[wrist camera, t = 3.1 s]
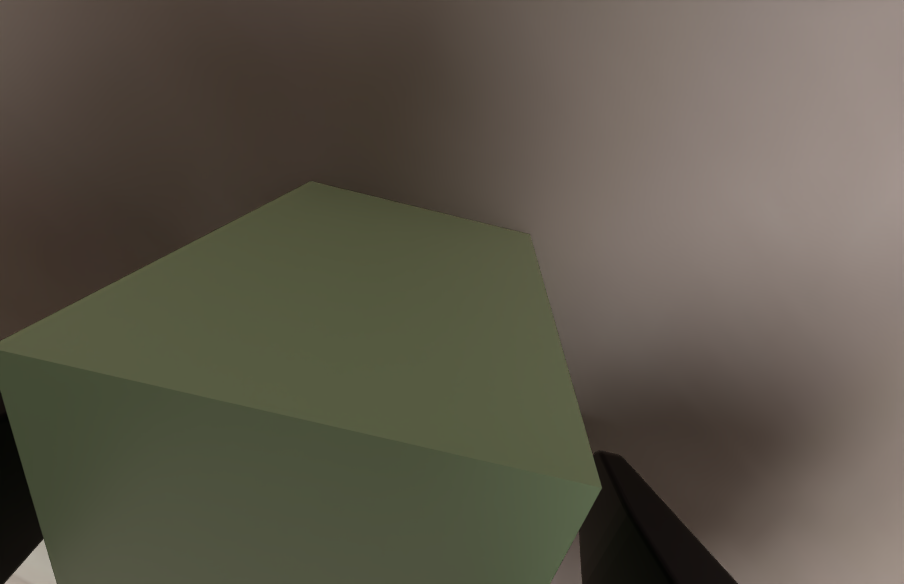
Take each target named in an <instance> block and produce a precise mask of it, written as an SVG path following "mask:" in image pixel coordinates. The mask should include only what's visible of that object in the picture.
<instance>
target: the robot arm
mask: <svg viewBox="0 0 904 584" xmlns="http://www.w3.org/2000/svg"><path fill="white" fill-rule="evenodd" d="M593 458H594V462H595V465H596V469H597V472H598V476H599V479H600V483H601V486H602V489H601V491H600V492H599V494H598V496H597V498H596V500H595V502H594V504H593V505H592V507H591V509H590V511H589V513H588V515H587V516H586V518H585V520H584V522H583V524H582V526H581V527H580V529H579V539H580V557H581V574H582V584H738V583H737V582H736V581H735V580H734V579H733V578H732V577H731V575H730V574H729V573H728V572H727V571H726V570H725V569H724V568H723V567H722V566H721V565H720V563H719V562H718V561H717V560H716V559H715V558H714V557H713V556H712V555H711V554H710V552H709V551H708V550H707V549H706V548H705V547H704V546H703V545H702V544H701V543H700V541H699V540H698V539H697V538H696V537H695V536H694V535H693V534H692V533H691V532H690V530H689V529H688V528H687V527H686V526H685V525H684V524H683V523H682V522H681V521H680V520H679V518H678V517H677V516H676V515H675V514H674V513H673V512H672V511H671V510H670V509H669V507H668V506H667V505H666V504H665V503H664V502H663V501H662V500H661V499H660V498H659V496H658V495H657V494H656V493H655V492H654V491H653V490H652V489H651V488H650V487H649V485H648V484H647V483H646V482H645V481H644V480H643V479H642V478H641V477H640V476H639V475H638V473H637V472H636V471H635V470H634V469H633V468H632V467H631V466H630V465H629V464H628V462H627V461H626V460H625V459H624V458H623V457H622V456H620V455H618V454H614V453H609V452H605V451H597V452H595V453H594V454H593ZM43 539H44V538H43V535H42V531H41V528H40V524H39V521H38V517H37V514H36V511H35V507H34V504H33V500H32V497H31V494H30V490H29V487H28V483H27V480H26V476H25V473H24V470H23V466H22V463H21V459H20V456H19V453H18V449H17V446H16V442H15V439H14V435H13V432H12V429H11V425H10V422H9V418H8V415H7V412H6V408H5V405H4V401H3V398H2V394H1V391H0V584H4V583H5V582H6V581H7V580H8V579H9V578H10V576H11V575H12V574H13V573H14V572H15V571H16V570H17V569H18V567H19V566H20V565H21V564H22V563H23V562H24V561H25V559H26V558H27V557H28V556H29V555H30V554H31V553H32V551H33V550H34V549H35V548H36V547H37V546H38V545H39V543H40V542H41V541H42V540H43Z"/></svg>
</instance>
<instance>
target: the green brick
mask: <svg viewBox="0 0 904 584" xmlns="http://www.w3.org/2000/svg"><path fill="white" fill-rule="evenodd" d="M0 391H1V394H2V398H3V401H4V405H5V408H6V412H7V415H8V418H9V422H10V425H11V429H12V432H13V435H14V439H15V442H16V446H17V449H18V453H19V456H20V459H21V463H22V466H23V470H24V473H25V476H26V480H27V483H28V487H29V490H30V494H31V497H32V500H33V504H34V507H35V511H36V514H37V517H38V521H39V524H40V528H41V531H42V535H43V538H44V541H45V545H46V548H47V552H48V555H49V558H50V562H51V565H52V569H53V572H54V576H55V579H56V582H57V584H550V583H551V581H552V579H553V577H554V575H555V573H556V572H557V570H558V568H559V566H560V564H561V562H562V561H563V559H564V557H565V555H566V553H567V551H568V550H569V548H570V546H571V544H572V542H573V540H574V539H575V537H576V535H577V533H578V531H579V529H580V527H581V526H582V524H583V522H584V520H585V518H586V516H587V515H588V513H589V511H590V509H591V507H592V505H593V504H594V502H595V500H596V498H597V496H598V494H599V492H600V491H601V489H602V486H601V483H600V479H599V476H598V472H597V469H596V465H595V462H594V458H593V455H592V451H591V448H590V444H589V441H588V437H587V433H586V430H585V426H584V423H583V419H582V416H581V412H580V409H579V405H578V402H577V398H576V395H575V391H574V388H573V384H572V381H571V377H570V374H569V370H568V367H567V363H566V360H565V356H564V353H563V349H562V346H561V342H560V339H559V335H558V332H557V328H556V325H555V321H554V318H553V314H552V311H551V307H550V304H549V300H548V296H547V293H546V289H545V286H544V282H543V279H542V275H541V272H540V268H539V265H538V261H537V258H536V254H535V251H534V247H533V244H532V240H531V237H530V234H526V233H522V232H518V231H514V230H510V229H506V228H502V227H497V226H493V225H489V224H485V223H481V222H477V221H473V220H469V219H465V218H460V217H456V216H452V215H448V214H444V213H440V212H436V211H432V210H428V209H423V208H419V207H415V206H411V205H407V204H403V203H399V202H395V201H391V200H386V199H382V198H378V197H374V196H370V195H366V194H362V193H358V192H354V191H349V190H345V189H341V188H337V187H333V186H329V185H325V184H321V183H317V182H312V181H310V182H308V183H306V184H304V185H302V186H300V187H298V188H296V189H294V190H293V191H291V192H289V193H287V194H285V195H283V196H281V197H279V198H277V199H275V200H273V201H271V202H269V203H267V204H265V205H263V206H261V207H259V208H258V209H256V210H254V211H252V212H250V213H248V214H246V215H244V216H242V217H240V218H238V219H236V220H234V221H232V222H230V223H228V224H226V225H225V226H223V227H221V228H219V229H217V230H215V231H213V232H211V233H209V234H207V235H205V236H203V237H201V238H199V239H197V240H195V241H193V242H191V243H190V244H188V245H186V246H184V247H182V248H180V249H178V250H176V251H174V252H172V253H170V254H168V255H166V256H164V257H162V258H160V259H158V260H157V261H155V262H153V263H151V264H149V265H147V266H145V267H143V268H141V269H139V270H137V271H135V272H133V273H131V274H129V275H127V276H125V277H123V278H122V279H120V280H118V281H116V282H114V283H112V284H110V285H108V286H106V287H104V288H102V289H100V290H98V291H96V292H94V293H92V294H90V295H89V296H87V297H85V298H83V299H81V300H79V301H77V302H75V303H73V304H71V305H69V306H67V307H65V308H63V309H61V310H59V311H57V312H55V313H54V314H52V315H50V316H48V317H46V318H44V319H42V320H40V321H38V322H36V323H34V324H32V325H30V326H28V327H26V328H24V329H22V330H20V331H19V332H17V333H15V334H13V335H11V336H9V337H7V338H5V339H3V340H1V341H0Z"/></svg>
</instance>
